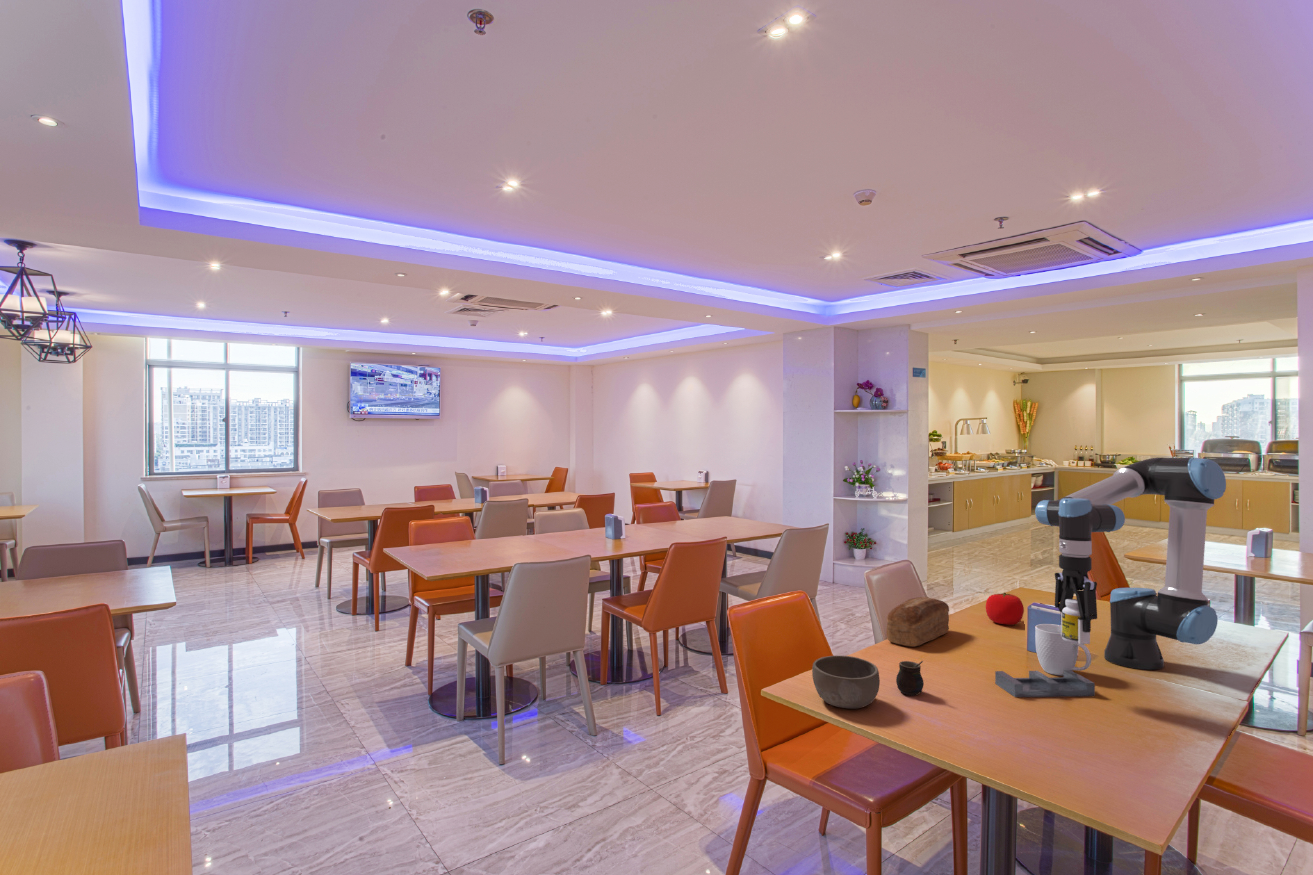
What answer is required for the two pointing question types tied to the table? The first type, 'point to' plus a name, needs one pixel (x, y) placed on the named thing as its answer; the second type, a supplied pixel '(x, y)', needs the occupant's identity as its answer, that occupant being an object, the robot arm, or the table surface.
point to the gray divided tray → (1046, 685)
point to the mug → (1057, 650)
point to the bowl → (846, 681)
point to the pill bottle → (1070, 621)
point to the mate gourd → (909, 678)
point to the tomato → (1004, 609)
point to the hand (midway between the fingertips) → (1075, 639)
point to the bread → (917, 621)
